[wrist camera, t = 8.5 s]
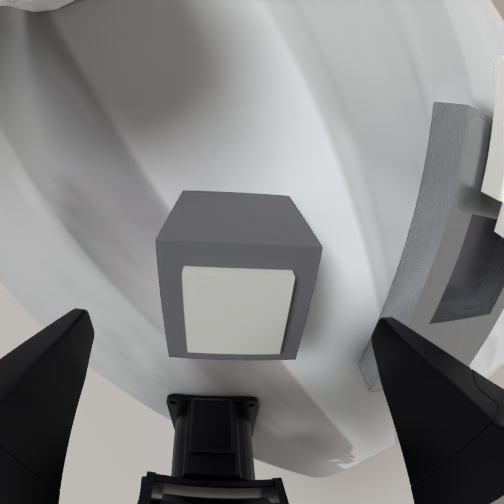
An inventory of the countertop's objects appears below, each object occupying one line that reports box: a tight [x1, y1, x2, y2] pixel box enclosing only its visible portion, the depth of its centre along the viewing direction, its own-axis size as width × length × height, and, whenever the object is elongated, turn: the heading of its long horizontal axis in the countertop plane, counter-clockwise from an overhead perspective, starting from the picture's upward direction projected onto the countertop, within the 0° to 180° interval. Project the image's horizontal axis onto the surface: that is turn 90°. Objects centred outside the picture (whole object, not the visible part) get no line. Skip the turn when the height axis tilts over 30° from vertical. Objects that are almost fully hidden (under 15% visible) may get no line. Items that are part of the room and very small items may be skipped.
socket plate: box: [358, 102, 504, 392], centre depth 13 cm, size 17×10×2 cm, turn 175°
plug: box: [156, 191, 323, 360], centre depth 11 cm, size 4×4×5 cm
